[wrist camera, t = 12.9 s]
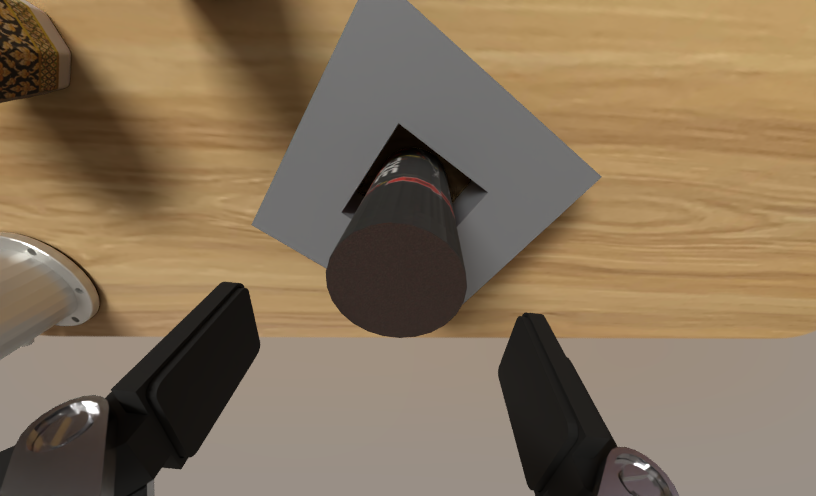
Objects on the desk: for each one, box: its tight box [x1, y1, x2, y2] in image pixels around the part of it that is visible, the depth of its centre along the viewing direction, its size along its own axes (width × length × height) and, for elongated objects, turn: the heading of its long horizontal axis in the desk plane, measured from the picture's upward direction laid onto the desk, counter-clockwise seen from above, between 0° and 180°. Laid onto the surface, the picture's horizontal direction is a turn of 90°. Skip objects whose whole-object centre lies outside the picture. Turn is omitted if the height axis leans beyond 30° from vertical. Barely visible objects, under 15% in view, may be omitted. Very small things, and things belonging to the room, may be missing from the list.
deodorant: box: [326, 147, 467, 338], centre depth 19 cm, size 6×6×15 cm
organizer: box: [252, 0, 601, 305], centre depth 23 cm, size 18×18×5 cm
